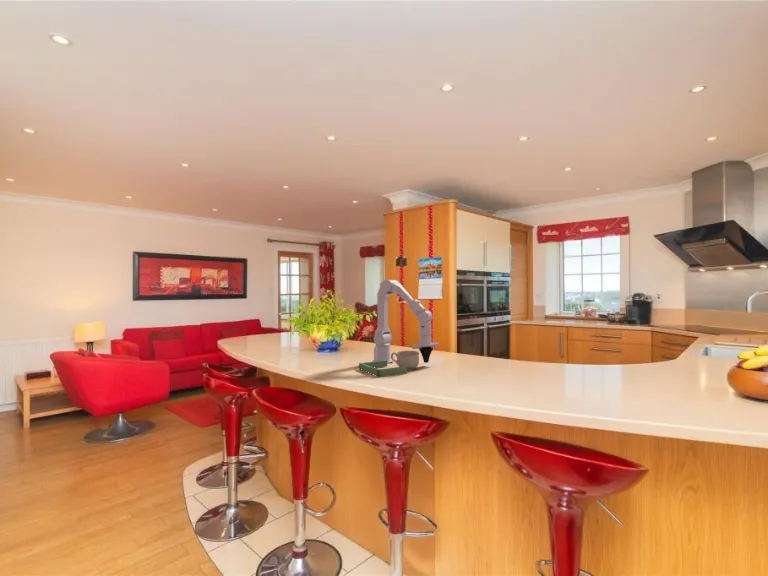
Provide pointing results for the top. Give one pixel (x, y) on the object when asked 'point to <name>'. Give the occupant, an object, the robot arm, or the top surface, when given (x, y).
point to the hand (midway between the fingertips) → (426, 362)
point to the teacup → (406, 359)
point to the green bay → (381, 372)
